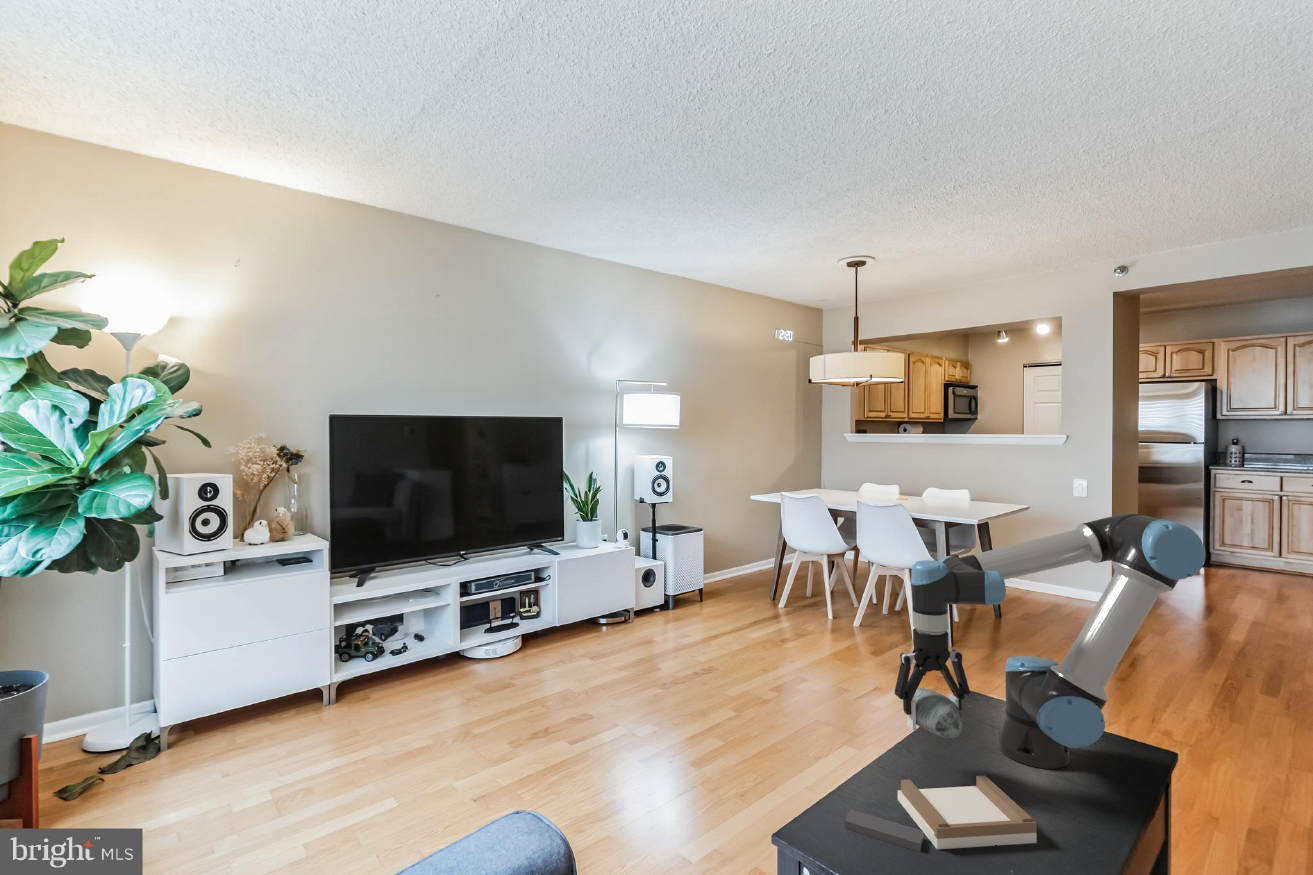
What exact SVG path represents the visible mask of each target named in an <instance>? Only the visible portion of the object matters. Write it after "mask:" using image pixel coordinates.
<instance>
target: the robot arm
mask: <svg viewBox="0 0 1313 875" xmlns="http://www.w3.org/2000/svg"><path fill="white" fill-rule="evenodd" d="M1076 526H1077V527H1075V529H1073V530H1069V531H1064V532H1061V533H1056V534H1053V535H1049V536H1045V537H1040V538H1036V539H1032V540H1029V541H1023V542H1019V543H1015V544H1011V545H1007V546H1003V547H999V548H995V549H990V550H987V551H982V552H979V553H978V552H977V553H975V554H969V555H965V556H961V557H958V556H956V555H955V556H954V555H947V556H943V557H942V558H941V559H939V560H926V559H925V560H918V561H915V562H914V563H913V564H912V566H911V577H910V578H911V579H910V583H911V598H912V600H911V602H912V606H911V607H912V610H911V611H912V627H913V630H912V643H913V644H912V645H913V649H912V652H911V653H904V652H902V653H900V654H899V658H900V666H899V670H898V675H897V679H896V683H895V688H894V695H895V696H896V697H897V698H898V699H899V700H902V706H903V708H902V709H903V710H902V711H903V712H904V714H905V715H906V725H907V726H908V727H909V729H911V730H912V731H913V732H914V731H917V724H916V706H915V701H914V700H913V697H914V695H915V692H916V690H917V689H919V686H920V684H921V681H922V680H923V678H924V677H925V676H926V675H927V673H928V672H933V671H935V672H940V674H941V675H942V677H943V679H944V681H945V683H946V684H947V687H948V688H949V690H950V691H951V693H949V694H948V698H949V699H950V700H952V701H953V702H954V703H955V704H956V705H957V706H958V708H959V710H960V712H962V710H963V707H962V706H963V705H962V704H963V703H962V702H963V701H962V700H964V699H965V695H966V696H968V695H970V694H971V690H970V687H969V683H968V680H967V676H966V673H965V670H964V669H965V668H964V666H963V654H962V653H961V652H960V651H958V650H957V649H952V650H949V646H950V643H949V642H950V640H949V637H950V636H949V632H948V630H949V609H948V606H949V605H969V606H970V605H974V606H976V605H977V606H978V605H979V606H981V605H982V606H991V605H1001V604H1003V602H1004V601H1005V599H1006V595H1007V594H1006V593H1007V588H1006V587H1007V586H1006V583H1005V580H1009V579H1013V578H1017V577H1022V576H1027V575H1031V574H1034V573H1039V572H1045V571H1047V570H1053V569H1057V568H1061V567H1065V566H1070V565H1075V564H1079V563H1083V562H1087V561H1090V562H1091V563H1093V564H1098V563H1103V562H1109V561H1111V565H1112V568H1113V570H1114V573H1113V576H1112V577H1111V579H1110V581H1109V583H1107V586H1106V588H1105V590H1103V592H1102V595H1101V596H1100V598H1099V600H1098V601H1097V603H1096V605H1095V606H1094V608H1093V610H1092V612H1091V613H1090V615H1089V617H1088V618H1087V619H1086V622H1085V623H1084V625H1083V627H1082V628H1081V630H1080V632H1079V633H1078V635H1077V637H1076V639H1075V640H1074V642H1073V644H1072V645H1071V647H1070V649H1069V650H1068V652H1067V654H1066V656H1065V657H1064V659H1063V661H1062V663H1061V664H1060V663H1058V662H1057V661H1054V660H1052V659H1047V658H1042V657H1038V656H1036V657H1035V656H1028V655H1024V656H1023V655H1020V656H1019V655H1018V656H1017V655H1016V656H1011V657H1009V658H1008V659H1007V660H1006V663H1005V669H1004V672H1005V717H1004V719H1003V722H1002V724H1001V728H1000V731H999V733H998V734H997V747H998V749H999V750H1000V752H1001V753H1002V754H1003V755H1005V756H1007V757H1008V758H1009V759H1011V760H1014V761H1015V762H1019V763H1021V764H1023V765H1027V766H1031V767H1034V768H1041V769H1051V770H1054V769H1062V768H1064V767H1066V766H1069V764H1070V762H1071V761H1070V760H1071V759H1070V753H1071V752H1070V749H1069V748H1075V749H1076V748H1082V747H1089V746H1091V745H1093V744H1094V743H1096V742H1097V741H1098V740H1099V739H1100V738H1101V737H1102V736H1103V734H1104V731H1105V728H1106V722H1105V717H1104V713H1103V712H1102V710H1103V709H1104V707H1105V705H1106V703H1107V701H1108V697H1107V694H1106V691H1105V687H1106V686H1107V684H1108V682H1109V681H1110V679H1111V677H1112V675H1113V673H1114V672H1115V670H1116V669H1117V667H1118V666H1119V664H1120V662H1121V660H1122V658H1123V657H1124V655H1125V654H1126V651H1127V650H1128V648H1129V647H1130V645H1131V644H1132V641H1133V640H1134V639H1135V636H1137V634H1138V631H1139V630H1140V628H1141V626H1142V625H1143V623H1144V621H1145V620H1146V618H1147V616H1148V615H1149V613H1150V611H1151V609H1152V608H1153V606H1154V605H1155V603H1156V601H1157V599H1158V598H1159V596H1160V595H1161V594H1162V593H1167V592H1173V591H1174V589H1175V587H1176V586H1177V583H1178V582H1179V580H1186V579H1188V578H1191V577H1194V576H1195V575H1197V574H1198V573H1199V572H1200V571H1201V569H1202V568H1203V567H1204V565H1205V560H1206V549H1205V545H1204V544H1203V541H1202V539H1201V537H1200V536H1199V535H1198V533H1197V532H1195V530H1193V529H1192V528H1190V527H1188V526H1186V525H1185V524H1183V523H1178V522H1177V521H1173V520H1171V519H1167V518H1166V519H1163V518H1157V517H1154V516H1148V515H1145V514H1140V513H1124V514H1123V513H1122V514H1117V515H1113V516H1108V517H1102V518H1100V519H1095V520H1092V521H1088V522H1083V523H1079V524H1078V525H1076ZM949 659H950V660H951V665H952V669H953V672H954V676H955V679H956V680H955V679H954V677H953V674H952V673H951V670H950V669H949V667H948V665H947V662H948V660H949ZM913 660H914V661H915V663H914V665H913ZM912 665H913V670H912V669H911V668H912ZM911 670H912V672H911ZM910 673H911V675H910Z"/></svg>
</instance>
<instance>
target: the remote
mask: <svg viewBox="0 0 1313 875" xmlns="http://www.w3.org/2000/svg"><path fill="white" fill-rule="evenodd" d="M844 829H845V830H848V831H852V832H855V833H857V834H861V835H865V836H868V837H870V838H875V839H877V840H880V841H884V842H887V843H890V844H894V845H896V846H900V847H903V848H906V849H910V850H913V851H916V852H921V849H922V845H923V841H924V832H923V831H922V830H921V829H918V828H915V827H911V826H908V825H905V824H901V823H898V822H895V821H891V820H888V819H884V818H881V817H877V816H875V815H872V814H867V813H863V812H861V811H857V810H854V809H849V811H848V813H847V815H846V818H845V819H844Z"/></svg>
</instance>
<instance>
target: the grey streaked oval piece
mask: <svg viewBox="0 0 1313 875" xmlns="http://www.w3.org/2000/svg"><path fill="white" fill-rule="evenodd" d="M913 700H914V701H915V706H916V726H918V727H919V728H922V729H924V730H925V731H928V732H929V733H932V734H934V735H937V736H940V737H942V738H947V739H948V738H949V739H951V738H952V739H953V738H955V739H956V738H958V737H959V736H960V735H961V733H962V729H963V727H964V724H963V717H962V711H960V710H959V708H958V706H957V705H956V704H955V703H954V702H953V701H952V700H950V699H949V697H947V696H946V695H944V694H942V693H940V692H938V691H935V690H932V689H927V688H919V687H918V688H917V690H916V692H915V695H914V697H913Z"/></svg>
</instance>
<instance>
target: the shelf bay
mask: <svg viewBox="0 0 1313 875" xmlns="http://www.w3.org/2000/svg"><path fill="white" fill-rule="evenodd" d="M975 777H976V779H975V780H976V782H975V783H976V785H970V786H967V785H966V786H954V787H953V786H952V787H937V788H936V787H934V788H933V787H931V788H918V787H917V786H916V784H914V782H913V781H912V780H911V779H901V780H900V789H898V790H897V801H898V802H899V803H900V804H901V806H902V807H903V809H904V810H905V811H906V812H907V813H908V815H909V816H910V818H911V819H912V820H913V822H915V823H916V824H917V826H918V827H919V828H920V830H922V831H923V834H925V836H926V838H927V839H928V840H929V841H930V842H931V843H932V845H933V846H934V847H935V849H936V850H946V849H948V850H949V849H963V848H965V849H967V848H979V847H980V848H981V847H993V846H995V845H997V846H1009V845H1010V846H1011V845H1026V844H1037V824H1038V823H1037V821H1036V820H1035V819H1034V818H1032V816H1030V815H1029V814H1028V813H1027V812H1026V811H1025V810H1024V809H1023V808H1022V807H1021V806H1020V805H1018V804H1017V803H1016V801H1015V800H1013V799H1012V798H1010V796H1009V795H1007V794H1006V793H1005V792H1004V791H1003V790H1002V789H1001V788H999V787H998V786H997V785H996V783H995V782H993V781H992V780H991V779H990V778H989V777H988V776H986V775H976V776H975ZM995 847H996V846H995Z"/></svg>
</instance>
